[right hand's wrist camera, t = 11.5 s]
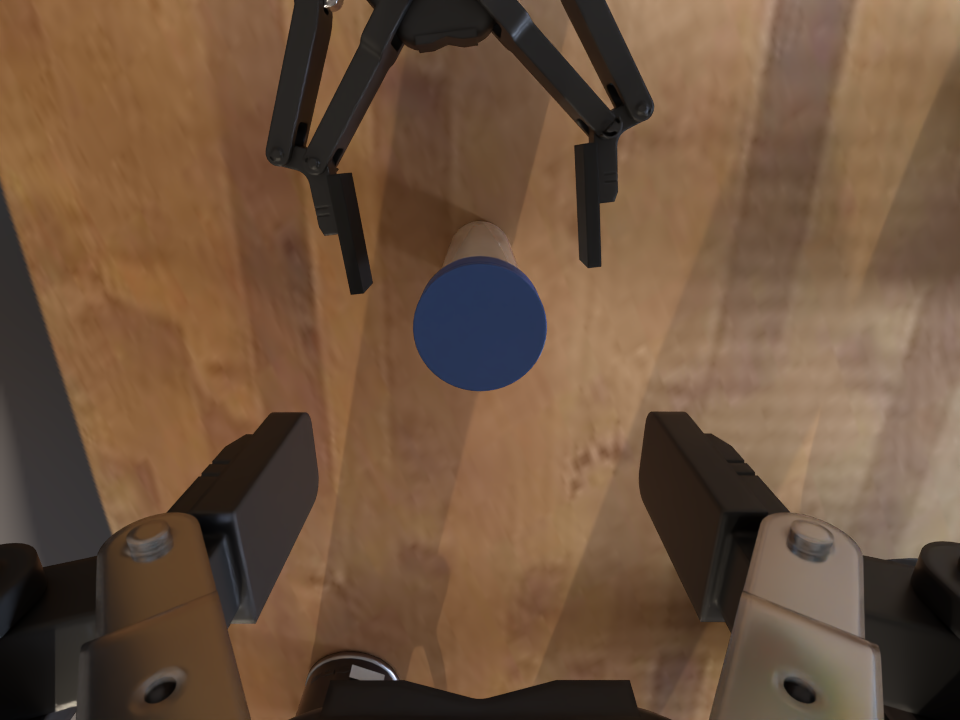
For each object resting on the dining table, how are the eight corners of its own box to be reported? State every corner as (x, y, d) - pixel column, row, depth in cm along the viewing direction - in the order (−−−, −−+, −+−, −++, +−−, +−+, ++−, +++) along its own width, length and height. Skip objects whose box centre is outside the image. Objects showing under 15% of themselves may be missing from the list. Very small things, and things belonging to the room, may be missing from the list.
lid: (420, 374, 22) (415, 391, 20) (415, 255, 20) (410, 263, 19) (538, 375, 22) (543, 391, 20) (545, 255, 20) (550, 264, 19)
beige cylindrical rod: (449, 282, 37) (426, 378, 21) (448, 220, 36) (422, 271, 19) (509, 282, 37) (533, 378, 21) (511, 221, 36) (538, 271, 19)
